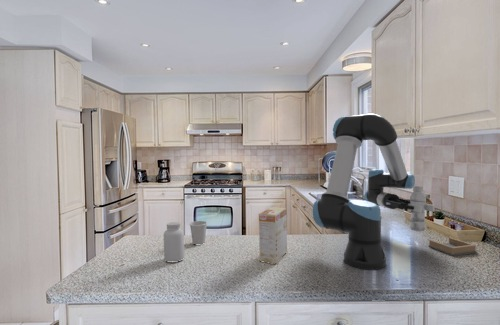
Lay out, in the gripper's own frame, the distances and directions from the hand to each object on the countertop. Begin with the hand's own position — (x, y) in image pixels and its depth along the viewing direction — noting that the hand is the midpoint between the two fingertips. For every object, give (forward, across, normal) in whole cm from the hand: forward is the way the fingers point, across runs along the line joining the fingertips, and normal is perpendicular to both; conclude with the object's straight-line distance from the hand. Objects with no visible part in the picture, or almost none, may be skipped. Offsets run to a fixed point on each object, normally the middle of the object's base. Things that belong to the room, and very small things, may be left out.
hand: (427, 208), depth 120 cm
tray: (+3, -10, -18) cm, 20 cm away
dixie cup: (-38, +95, -19) cm, 104 cm away
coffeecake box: (-11, +66, -19) cm, 70 cm away
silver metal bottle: (-5, 0, -11) cm, 12 cm away
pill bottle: (-20, +106, -19) cm, 110 cm away
